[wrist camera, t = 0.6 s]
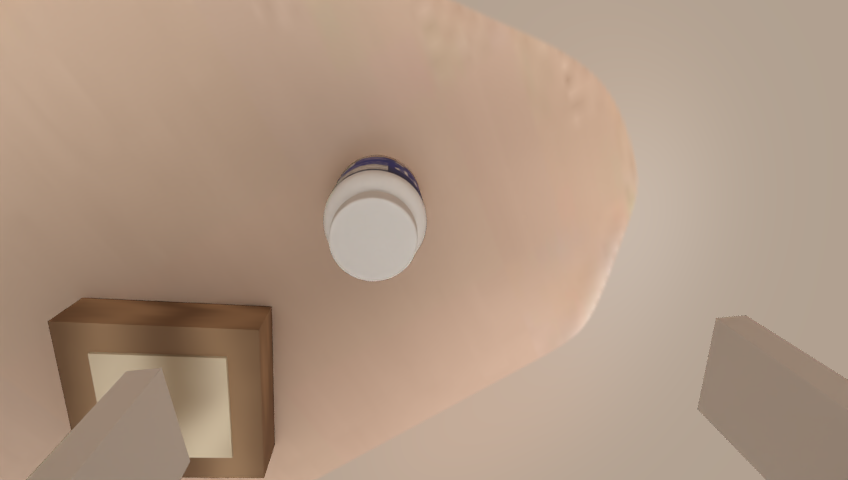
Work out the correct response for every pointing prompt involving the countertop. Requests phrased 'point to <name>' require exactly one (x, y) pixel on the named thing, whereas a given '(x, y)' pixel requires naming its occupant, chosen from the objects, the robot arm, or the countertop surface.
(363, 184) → the pill bottle
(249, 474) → the stand
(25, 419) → the countertop surface
